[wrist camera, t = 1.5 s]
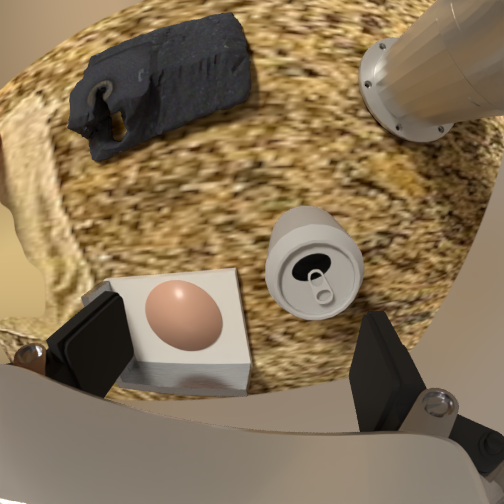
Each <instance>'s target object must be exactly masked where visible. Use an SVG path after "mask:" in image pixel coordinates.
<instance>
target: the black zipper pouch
mask: <svg viewBox="0 0 504 504" xmlns="http://www.w3.org/2000/svg"><path fill="white" fill-rule="evenodd" d="M240 29H241V24H240V23H239V21H238V20H237V19H236V18H235V17H234V16H233V15H232V12H229V13H221V14H215V15H210V16H207V17H204V18H202V19H198V20H191V21H185V22H182V23H180V24H175V25H171V26H168V27H163V28H160V29H157V30H154V31H152V32H149V33H147V34H141V35H139V36H138V37H135V38H132V39H130V40H127V41H124V42H122V43H120V44H119V45H116V46H113V47H110V48H108V49H107V50H105V51H103V52H101V53H98V54H96V55H94V56H91V58H90V61H89V64H88V68H87V69H86V70H85V71H84V77H83V79H82V80H80V81H79V82H78V83H77V84H76V86H75V88H74V89H73V91H72V92H71V93H70V99H69V102H70V116H69V119H68V121H69V125H68V127H67V128H68V129H70V130H73V131H75V132H77V133H78V134H81V135H82V137H85V138H86V139H88V138H89V137H90V138H91V140H90V142H89V147H90V153H91V155H92V160H94V161H101V160H102V159H107V158H110V157H112V156H113V155H114V154H117V153H119V152H121V151H125V150H127V149H129V148H131V147H133V146H136V145H138V144H139V143H141V142H145V141H147V140H149V139H150V138H151V137H155V136H157V135H162V134H163V133H165V132H167V131H170V130H173V129H176V128H178V127H181V126H182V125H184V124H186V123H187V121H194V120H196V119H198V118H200V117H201V116H206V115H208V114H210V113H212V112H215V111H217V110H225V109H229V108H232V107H234V106H235V105H237V104H239V103H241V102H243V101H245V100H246V99H247V98H248V96H249V93H250V89H251V79H250V61H249V56H248V53H247V49H246V48H247V45H246V40H245V37H244V35H243V33H242V32H241V30H240ZM117 111H120V112H121V114H122V115H121V117H122V120H123V122H124V125H125V127H126V129H127V132H126V134H125V136H124V138H123V140H122V142H118V141H116V140H115V139H114V138H113V136H112V130H111V124H112V118H111V117H110V116H109V114H110V112H111V114H113V113H116V112H117ZM90 135H91V136H90ZM93 136H94V137H93Z"/></svg>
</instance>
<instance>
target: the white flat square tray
mask: <svg viewBox="0 0 504 504" xmlns="http://www.w3.org/2000/svg"><path fill="white" fill-rule="evenodd" d="M103 281H109V282H110V285H111V288H112V292H118V293H119V295H120V296H121V297H122V298H123V301H124V306H125V311H126V316H127V321H128V326H129V330H130V335H131V339H132V343H133V348H134V354H135V357H136V359H137V361H144V362H160V363H184V364H243V363H251V367H253V364H252V358H251V353H250V347H249V341H248V335H247V330H246V324H245V318H244V312H243V306H242V300H241V294H240V288H239V282H238V276H237V270H236V268H228V269H217V270H206V271H194V272H182V273H170V274H158V275H145V276H132V277H119V278H106V279H105V280H103Z"/></svg>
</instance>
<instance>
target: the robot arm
mask: <svg viewBox="0 0 504 504" xmlns="http://www.w3.org/2000/svg"><path fill="white" fill-rule="evenodd" d="M380 48H381V49H380ZM358 82H359V89H360V92H361V95H362V98H363V100H364V102H365V104H366V106H367V108H368V110H369V111H370V112H371V114H372V115H373V117H374V118H375V119H376V120H377V121H378V122H379V123H380V124H381V125H382V126H383V127H384V128H385V129H387V130H388V131H389V132H390V133H392V134H394V135H396V136H397V137H399V138H401V139H404V140H407V141H411V142H419V143H420V142H430V141H435V140H437V139H439V138H441V137H443V136H444V135H445V134H447V133H448V132H449V131H450V129H451V128H452V126H453V125H454V123H455V122H461V121H467V120H474V119H480V118H487V117H494V116H502V115H504V0H437V1H436V2H435V3H433V4H432V5H431V6H430V7H429V8H428V9H427V10H426V11H425V12H424V13H423V14H422V15H421V16H420V17H419V18H418V19H417V20H416V21H415V22H414V23H413V24H412V25H411V26H410V27H409V28H408V29H407V30H406V31H405V32H404V33H403V34H402V35H401V37H400V38H386V39H382V40H380V41H378V42H376V43H375V44H373V45H372V46H371V47H370V48H369V49H368V50H367V51H366V52H365V54H364V56H363V58H362V59H361V62H360V65H359V69H358ZM365 84H366V85H367V86H368V88H367V87H365ZM396 126H397V127H398V131H397V130H396ZM438 129H439V130H438ZM46 341H47V344H48V347H49V348H48V349H47V350H46V348H45V347H44V346H43V345H42V344H39V343H30V344H27V345H25V346H23V347H21V348H20V349H18V351H17V352H16V353H15V356H14V360H13V363H8V364H0V504H504V436H503V435H502V434H500V433H499V432H497V431H494V430H492V429H490V428H488V427H485V426H483V425H481V424H478V423H476V422H474V421H472V420H470V419H467V418H465V417H463V416H461V415H459V414H457V413H458V409H459V405H458V402H457V400H456V398H455V397H454V396H453V395H452V394H451V393H450V392H448V391H446V390H444V389H440V388H430V389H426V386H425V384H424V382H423V380H422V378H421V376H420V374H419V372H418V370H417V368H416V366H415V364H414V362H413V360H412V358H411V356H410V354H409V352H408V350H407V349H406V347H405V346H404V345H403V344H402V343H401V341H400V339H399V337H398V335H397V333H396V331H395V330H394V328H393V326H392V324H391V322H390V320H389V319H388V317H387V315H386V313H385V312H384V311H369V312H368V314H367V315H364V316H363V318H362V322H361V327H360V331H359V336H358V340H357V344H356V348H355V352H354V356H353V360H352V364H351V367H350V371H349V380H350V385H351V390H352V394H353V399H354V404H355V409H356V414H357V419H358V424H359V430H360V432H343V433H308V432H306V433H305V432H304V433H303V432H279V431H265V430H254V429H244V428H236V427H227V426H220V425H214V424H208V423H201V422H196V421H191V420H185V419H180V418H176V417H171V416H166V415H162V414H158V413H154V412H150V411H146V410H142V409H138V408H135V407H131V406H127V405H124V404H121V403H117V402H114V401H111V400H108V399H104V397H105V396H106V394H107V393H108V391H109V390H110V388H111V387H112V386H113V384H114V383H115V381H116V380H117V379H118V377H119V376H120V375H121V373H122V372H123V370H124V369H125V368H126V366H127V365H128V363H129V362H130V361H131V359H132V358H133V356H134V348H133V343H132V339H131V335H130V330H129V326H128V321H127V316H126V311H125V306H124V301H123V298H122V297H121V296H120V295H119V293H118V292H111V291H104V292H103V293H102V294H100V295H99V296H98V297H97V298H95V299H94V300H93V301H92V302H90V303H89V304H88V305H87V306H86V307H84V308H83V309H82V310H81V311H80V312H78V313H77V314H76V315H75V316H74V317H72V318H71V319H70V320H69V321H68V322H66V323H65V324H64V325H63V326H62V327H61V328H59V329H58V330H57V331H56V332H55V333H54V334H53V335H51V336H50V337H49V338H48V339H47V340H46Z"/></svg>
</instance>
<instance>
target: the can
mask: <svg viewBox="0 0 504 504" xmlns="http://www.w3.org/2000/svg"><path fill="white" fill-rule="evenodd" d="M363 274H364V263H363V258H362V253H361V252H360V250H359V248H358V246H357V245H356V243H355V241H354V240H353V239H352V238H351V237H350V235H349V234H348V233H347V232H346V231H345V230H344V229H343V228H342V226H341V225H340V224H339V223H338V222H337V221H336V220H335V219H334V218H333V217H332V216H331V215H330V214H329V213H327V212H326V211H325V210H323V209H320V208H318V207H315V206H299V207H296V208H292V209H290V210H289V211H287V212H286V213H284V214H283V215H282V216H281V217H280V218H279V219H278V221H277V222H276V223H275V225H274V228H273V231H272V234H271V239H270V244H269V250H268V255H267V260H266V275H265V280H266V283H267V286H268V289H269V292H270V294H271V296H272V297H273V298H274V300H275V301H276V302H277V304H278V305H279V306H281V307H282V308H284V309H285V310H286V311H288V312H289V313H291V314H292V315H294V316H296V317H299V318H302V319H305V320H323V319H327V318H331V317H334V316H335V315H337V314H339V313H340V312H342V311H344V310H345V309H346V308H347V307H348V306H349V305H350V304H351V303H352V302H353V300H354V299H355V296H356V295H357V292H358V290H359V288H360V286H361V284H362V281H363Z"/></svg>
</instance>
